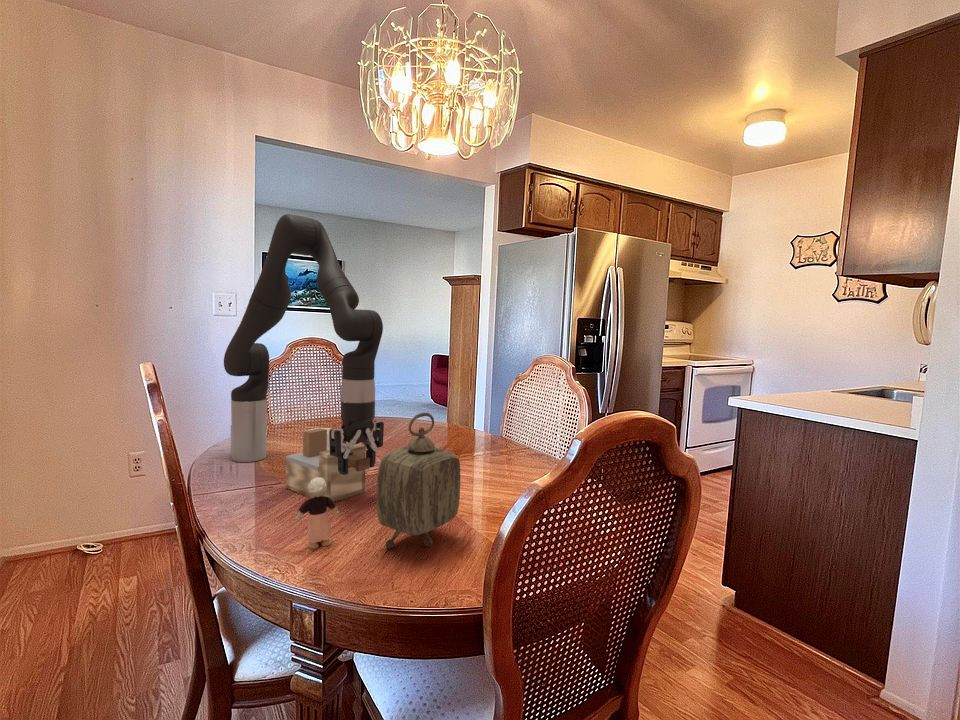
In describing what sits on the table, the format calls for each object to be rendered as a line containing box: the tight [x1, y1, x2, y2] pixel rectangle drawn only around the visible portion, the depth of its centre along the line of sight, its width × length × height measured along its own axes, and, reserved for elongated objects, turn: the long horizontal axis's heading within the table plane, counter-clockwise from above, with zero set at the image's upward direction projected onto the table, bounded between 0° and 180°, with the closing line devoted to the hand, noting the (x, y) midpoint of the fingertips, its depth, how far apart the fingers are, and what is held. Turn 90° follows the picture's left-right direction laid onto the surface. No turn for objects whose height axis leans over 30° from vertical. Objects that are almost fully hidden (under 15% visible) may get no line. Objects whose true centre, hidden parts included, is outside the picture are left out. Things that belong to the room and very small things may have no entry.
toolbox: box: [285, 443, 367, 503], centre depth 123 cm, size 16×11×11 cm
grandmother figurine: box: [294, 477, 340, 549], centre depth 94 cm, size 8×4×13 cm, turn 131°
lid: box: [285, 427, 330, 471], centre depth 124 cm, size 13×11×7 cm
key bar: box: [347, 454, 371, 471], centre depth 118 cm, size 12×3×2 cm, turn 53°
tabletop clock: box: [375, 412, 461, 550], centre depth 96 cm, size 14×9×25 cm, turn 145°
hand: (357, 470), depth 116 cm, fingers open, 7 cm apart
